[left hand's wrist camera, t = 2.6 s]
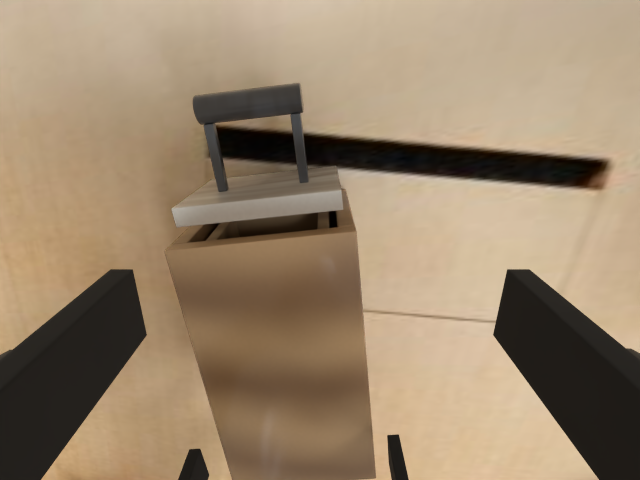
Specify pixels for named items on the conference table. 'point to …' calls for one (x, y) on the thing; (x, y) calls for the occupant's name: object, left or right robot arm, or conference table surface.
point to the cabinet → (281, 348)
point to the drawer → (262, 189)
